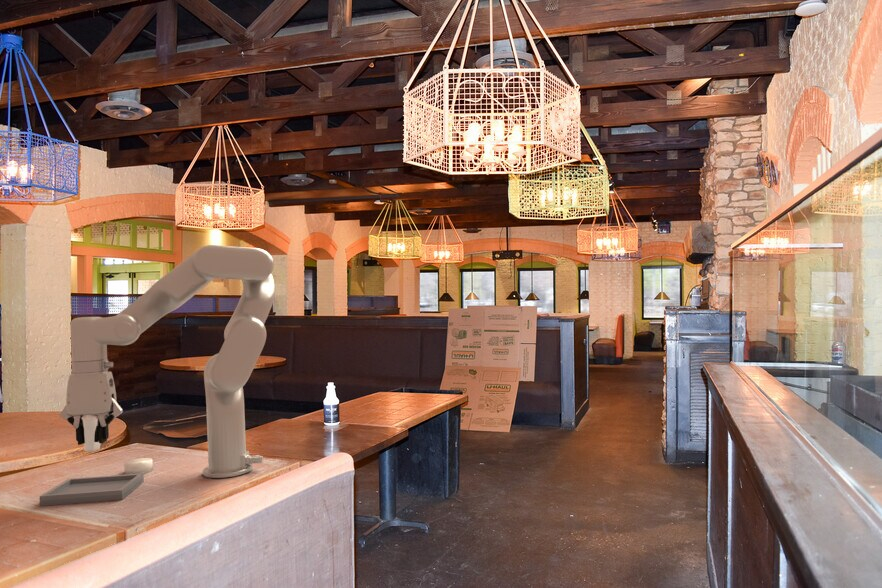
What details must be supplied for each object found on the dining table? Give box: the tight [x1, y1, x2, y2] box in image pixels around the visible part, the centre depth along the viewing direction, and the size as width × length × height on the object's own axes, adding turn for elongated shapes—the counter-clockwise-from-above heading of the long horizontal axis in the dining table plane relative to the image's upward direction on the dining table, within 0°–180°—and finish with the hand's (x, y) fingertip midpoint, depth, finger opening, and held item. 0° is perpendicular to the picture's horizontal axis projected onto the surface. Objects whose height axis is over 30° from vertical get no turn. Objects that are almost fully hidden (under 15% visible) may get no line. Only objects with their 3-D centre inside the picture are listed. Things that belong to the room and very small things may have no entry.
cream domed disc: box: [123, 457, 154, 475], centre depth 168 cm, size 7×7×3 cm
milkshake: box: [81, 415, 101, 452], centre depth 150 cm, size 5×5×10 cm
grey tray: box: [39, 473, 145, 507], centre depth 150 cm, size 18×14×2 cm
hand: (92, 442), depth 150 cm, fingers closed on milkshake, 4 cm apart
